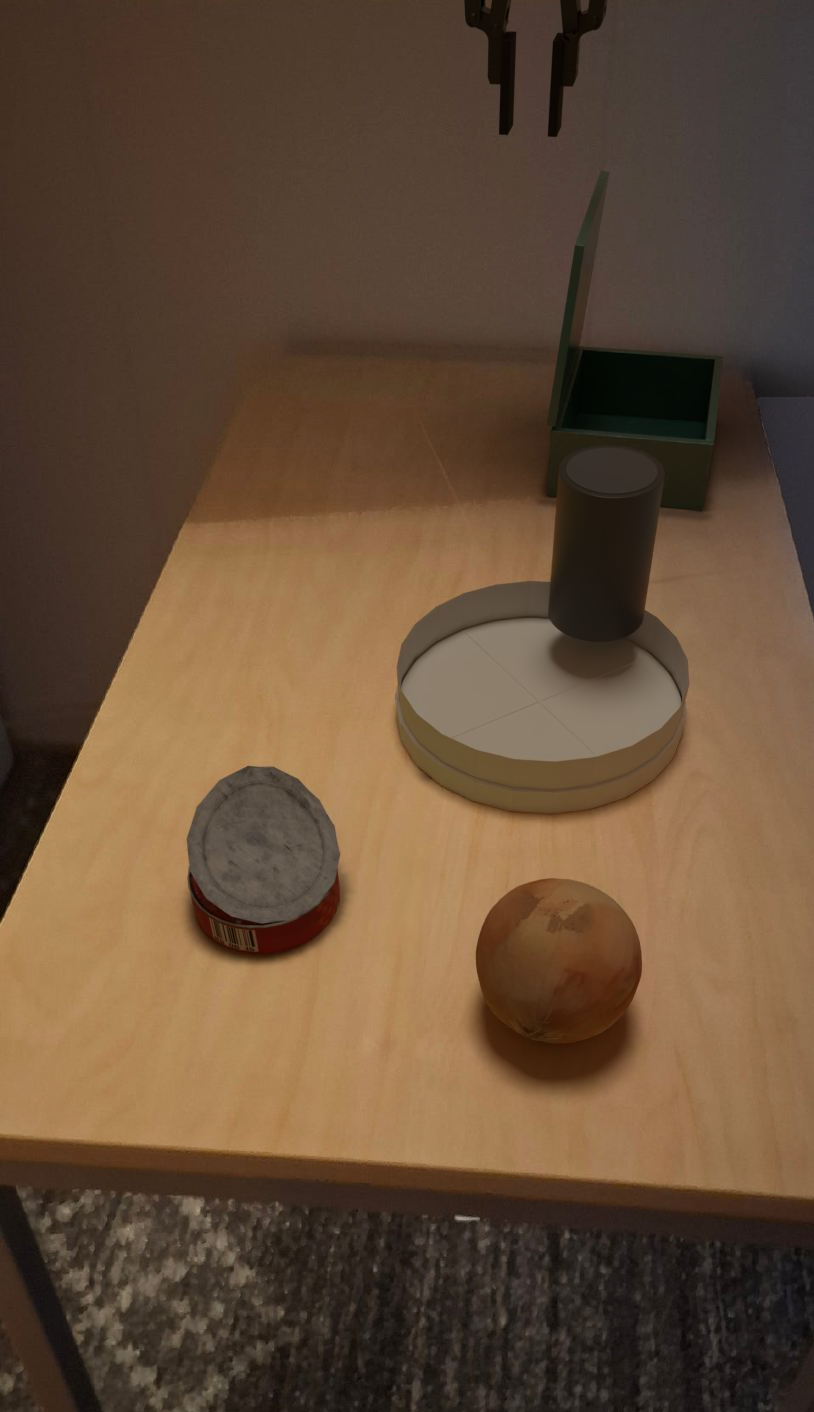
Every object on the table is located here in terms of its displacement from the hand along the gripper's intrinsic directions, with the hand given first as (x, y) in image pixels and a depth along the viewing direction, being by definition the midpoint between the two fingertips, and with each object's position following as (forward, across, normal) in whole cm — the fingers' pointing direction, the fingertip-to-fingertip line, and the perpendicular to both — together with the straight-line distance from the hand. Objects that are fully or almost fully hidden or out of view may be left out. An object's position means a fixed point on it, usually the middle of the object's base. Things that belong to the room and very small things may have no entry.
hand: (530, 130), depth 97 cm
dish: (+29, -8, +40) cm, 50 cm away
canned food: (+29, +7, +63) cm, 69 cm away
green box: (+29, -12, 0) cm, 31 cm away
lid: (+13, -5, 0) cm, 14 cm away
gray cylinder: (+24, -12, +33) cm, 42 cm away
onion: (+29, -13, +68) cm, 75 cm away
